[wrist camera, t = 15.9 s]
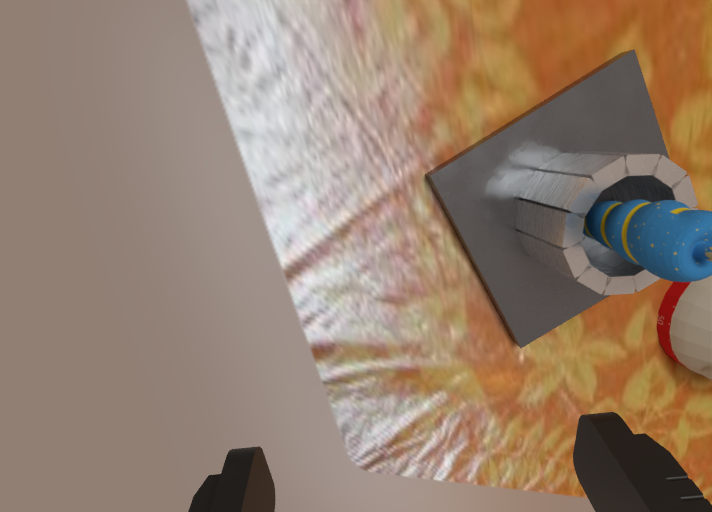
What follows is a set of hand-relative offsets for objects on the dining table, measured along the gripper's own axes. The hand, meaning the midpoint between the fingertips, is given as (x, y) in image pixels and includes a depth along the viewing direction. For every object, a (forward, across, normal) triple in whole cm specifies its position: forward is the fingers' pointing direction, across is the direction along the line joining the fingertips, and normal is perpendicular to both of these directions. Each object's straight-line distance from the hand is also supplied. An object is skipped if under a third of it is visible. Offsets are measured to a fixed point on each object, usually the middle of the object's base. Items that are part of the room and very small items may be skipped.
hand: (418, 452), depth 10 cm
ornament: (+28, -18, +7) cm, 34 cm away
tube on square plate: (+30, -18, +7) cm, 35 cm away
